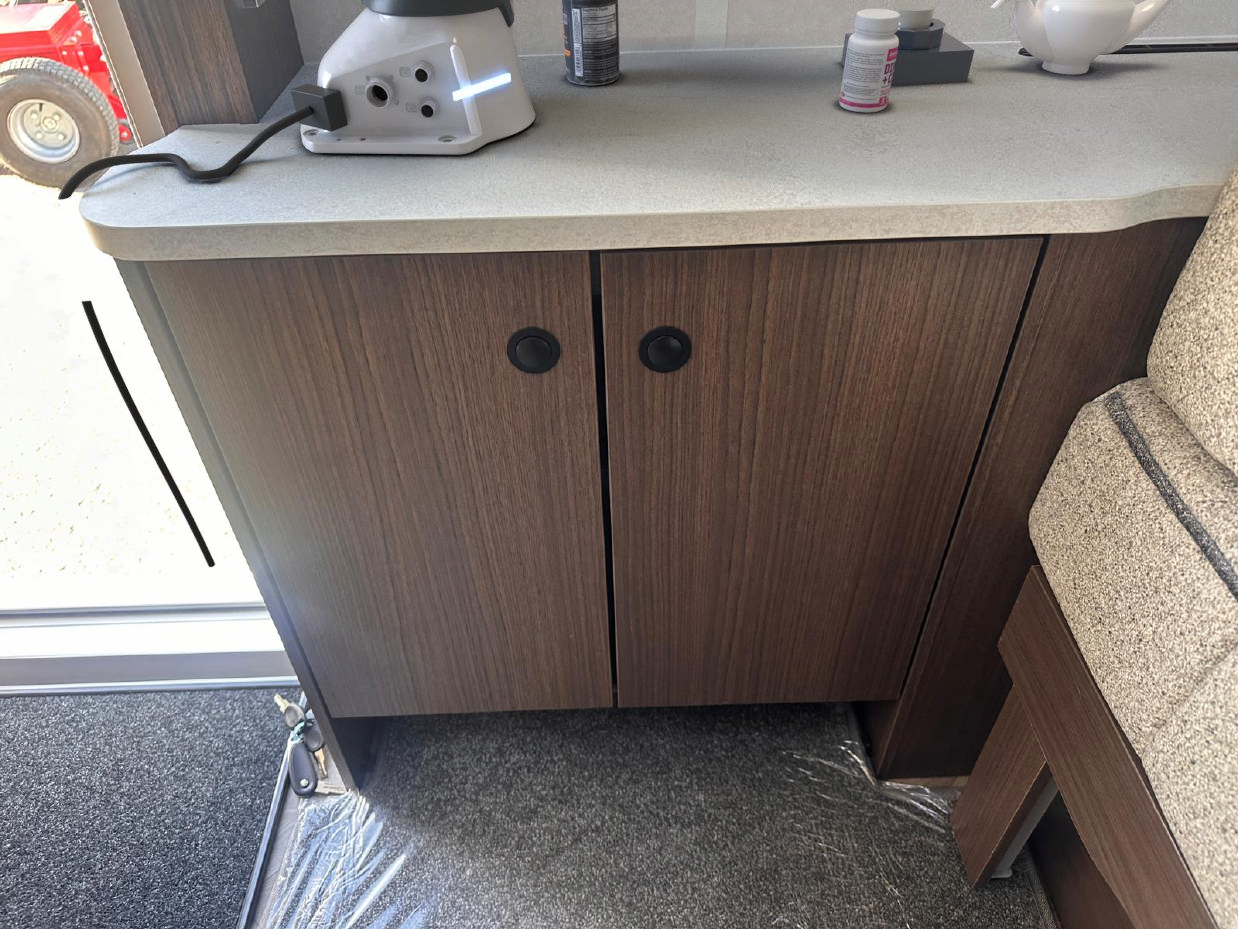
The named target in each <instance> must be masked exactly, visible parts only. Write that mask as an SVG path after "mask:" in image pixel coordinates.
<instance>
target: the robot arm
mask: <svg viewBox="0 0 1238 929" xmlns="http://www.w3.org/2000/svg"><path fill="white" fill-rule="evenodd" d="M361 4H362V6H365V8H364V9H363V10H362V11H361V12H360V14H359V15H358V16H357V17H356V18H355V19H354V20H353V21H352V23H351V24H349V26H348V27H347V28H346V29H345V30H344V31H343V32H342V33H341V35H340V36H339V37H338V38H337V39H336V40H335V42H334V43H333V44H332V45H330V47H329V49H328V50H327V51H326V52H325V54H324V55H323V57H322V59H321V61H320V63H319V66H318V70H317V83H316V85H315V84H310V83H304V84H302V85H298V86H296V87H293V88H289V89H290V95H291V98H292V103H293V106H294V110H295V112H293V113H291V114H289V115H287V116H285V117H283V118H281V119H280V120H277V121H276V122H274V123H272V124H270V125H269V126H268V127H266V128H265V129H263V130H262V131H260V132H259V133H258V134H257V135H256V136H255V137H253V138H252V139H251V140H250V141H249V142H248V144H247V145H245V146H244V147H243V148H242V149H241V150H240V151H238V152H237V153H236V154H234V155H233V156H232V157H231V158H230V159H229V160H228V161H227V162H226V163H224V164H223V165H222V166H220V167H217V168H214V169H208V170H196V169H192V167H190V165H189V164H188V161H186V160H185V158H183V157H182V156H181V155H178V154H176V153H171V152H157V153H140V154H139V153H138V154H123V155H115V156H110V157H105V158H100V159H98V160H95V161H93V162H91V163H88V164H86V165H84V166H83V167H82V168H80V169H79V170H77V171H76V172H75V173H74V174H73V175H72V176H71V177H70V178H68V180H67V181H66V182H65V184H64V185H63V187H62V188H61V190H60V192H59V194H58V197H57V200H60V201H63V200H66V199H69V198H71V197H72V195H73V194H74V192H75V191H76V190H77V188H78V187H79V186H80V185H81V184H82V183H83V182H84V181H85V180H86V179H88V178H89V177H90V176H92V175H94V174H96V173H98V172H100V171H102V170H104V169H108V168H113V167H117V166H124V165H134V164H150V163H172V164H175V165H176V166H178V168H179V169H180V171H181V172H182V173H183V174H184V175H185V176H186V177H188V178H189V179H190V180H191V179H192V180H196V181H207V180H208V181H209V180H215V179H219V178H223V177H226V176H228V175H229V174H231V173H232V172H234V170H235V169H236V168H237V167H238V166H239V165H240V164H242V163H243V162H244V161H246V160H247V159H248V158H249V157H251V156H252V155H253V154H254V153H255V152H256V151H257V150H258V149H259V148H260V147H261V146H263V144H265V142H267V141H268V140H270V138H272V137H274V136H275V135H277V134H278V133H280V132H282V131H283V130H286V129H287V128H288V127H290V126H291V127H292V125H294V124H297V123H298V124H300V138H301V142H302V145H303V146H304V148H305V149H307V150H308V151H309V152H311V153H316V154H373V155H375V154H378V155H379V154H380V155H381V154H384V155H386V154H387V155H389V154H390V155H466V154H469V153H472V152H474V151H476V150H478V149H480V148H481V147H483V146H485V145H486V144H489V143H491V142H494V141H498V140H501V139H504V138H507V137H510V136H512V135H514V134H518V133H519V132H522V131H523V130H525V129H526V128H528V127H530V126H531V125H532V123H533V122H534V121H535V119H536V112H535V109H534V106H533V104H532V101H531V98H530V95H529V92H528V89H527V85H526V82H525V79H524V75H523V71H522V66H521V63H520V57H519V54H518V48H517V43H516V37H515V33H514V27H513V24H514V22H515V15H516V8H515V7H516V6H515V5H516V4H515V0H361ZM81 306H82V308H83V311H84V314H85V316H86V318H87V321H88V323H89V325H90V329H91V332H92V334H93V336H94V338H95V341H96V343H97V347H98V348H99V350H100V353H101V355H102V357H103V360H104V362H105V364H106V366H107V368H108V371H109V373H110V375H111V377H112V379H113V380H114V383H115V385H116V388H117V390H118V391H119V394H120V396H121V397H122V399H123V402H124V403H125V406H126V408H127V410H128V411H129V414H130V415H131V417H132V419H133V421H134V424H135V425H136V427H137V430H138V431H139V433H140V434H141V436H142V439H143V441H144V442H145V444H146V446H147V449H148V451H149V452H150V454H151V456H152V458H153V460H154V462H155V463H156V465H157V467H158V469H159V471H160V472H161V474H162V475H161V476H163V479H164V481H165V482H166V484H167V486H168V488H169V490H170V491H171V494H172V495H173V497H174V499H175V501H176V503H177V505H178V508H179V509H180V511H181V513H182V515H183V517H184V519H185V521H186V523H187V525H188V526H189V529H190V531H191V533H192V535H193V537H194V539H195V541H196V543H197V545H198V547H199V549H200V551H201V554H202V555H203V556H202V557H203V558H204V560H205V562H206V564H207V567H208V568H213V567H214V566H216V562H215V560H214V558H213V556H212V554H211V552H210V550H209V547H208V545H207V542H206V541H205V539H204V537H203V535H202V532H201V530H200V528H199V526H198V524H197V522H196V520H195V518H194V515H193V514H192V512H191V510H190V508H189V506H188V504H187V503H186V500H185V498H184V497H183V494H182V492H181V491H180V489H179V487H178V485H177V483H176V481H175V479H174V477H173V474H172V472H171V471H170V469H169V468H168V466H167V463H166V461H165V459H164V458H163V456H162V454H161V452H160V450H159V448H158V446H157V444H156V442H155V440H154V438H153V437H152V434H151V433H150V431H149V429H148V427H147V425H146V423H145V420H144V419H143V416H142V414H141V413H140V411H139V409H138V406H137V405H136V403H135V401H134V398H133V397H132V395H131V393H130V391H129V388H128V385H127V383H126V382H125V380H124V378H123V376H122V374H121V371H120V369H119V367H118V365H117V363H116V360H115V358H114V355H113V353H112V351H111V349H110V347H109V344H108V341H107V340H106V337H105V335H104V332H103V329H102V326H101V324H100V321H99V319H98V316H97V314H96V311H95V308H94V305H93V302H92V300H81Z"/></svg>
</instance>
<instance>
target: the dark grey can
mask: <svg viewBox="0 0 1238 929" xmlns="http://www.w3.org/2000/svg"><path fill="white" fill-rule="evenodd" d="M561 8H562V9H561V10H562V24H563V27H562V28H563V40H564V55H565V56H564V59H565V72H566V73H565V75H566V78H567V80H568V81H569V82H571V83H573V84H576V85H580V86H601V85H602V86H603V85H607V84H610V83H613V82H615V81H616V80H618V78H619V77H620V72H621V70H620V59H621V58H620V24H619V21H620V20H619V0H561Z"/></svg>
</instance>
